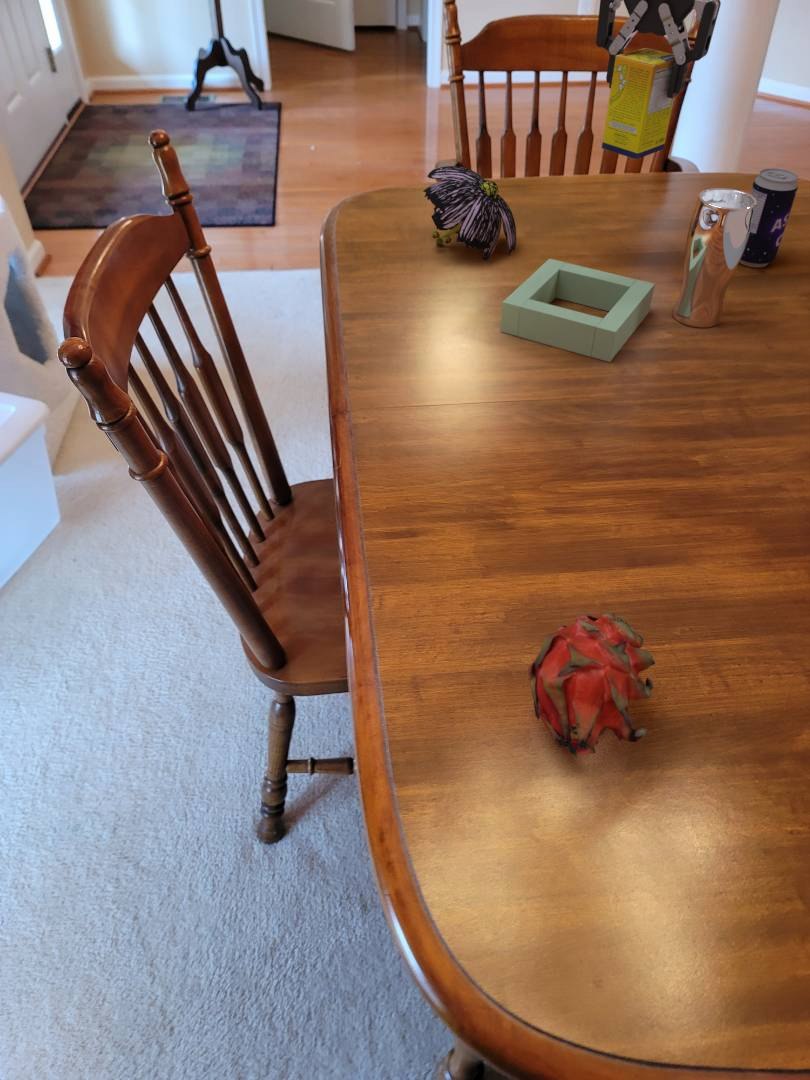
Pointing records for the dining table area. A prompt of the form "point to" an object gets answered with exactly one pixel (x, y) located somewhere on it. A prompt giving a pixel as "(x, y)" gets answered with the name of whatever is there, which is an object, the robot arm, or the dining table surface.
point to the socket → (572, 329)
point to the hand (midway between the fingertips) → (642, 91)
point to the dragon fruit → (590, 681)
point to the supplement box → (639, 103)
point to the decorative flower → (469, 210)
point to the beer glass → (713, 254)
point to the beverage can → (769, 215)
